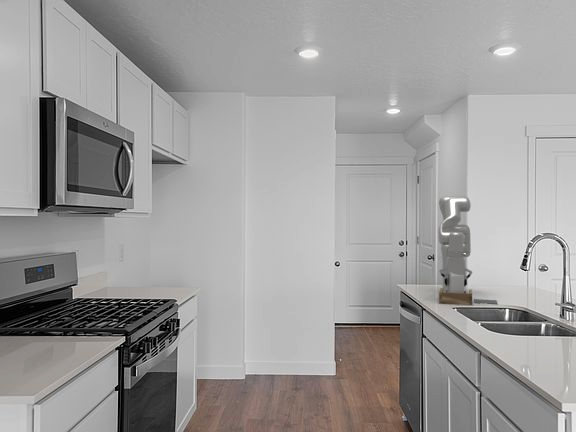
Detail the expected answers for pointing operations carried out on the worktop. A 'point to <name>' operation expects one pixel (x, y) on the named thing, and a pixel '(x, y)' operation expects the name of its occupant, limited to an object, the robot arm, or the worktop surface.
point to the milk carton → (455, 283)
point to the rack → (455, 298)
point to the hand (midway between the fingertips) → (455, 286)
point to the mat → (485, 301)
